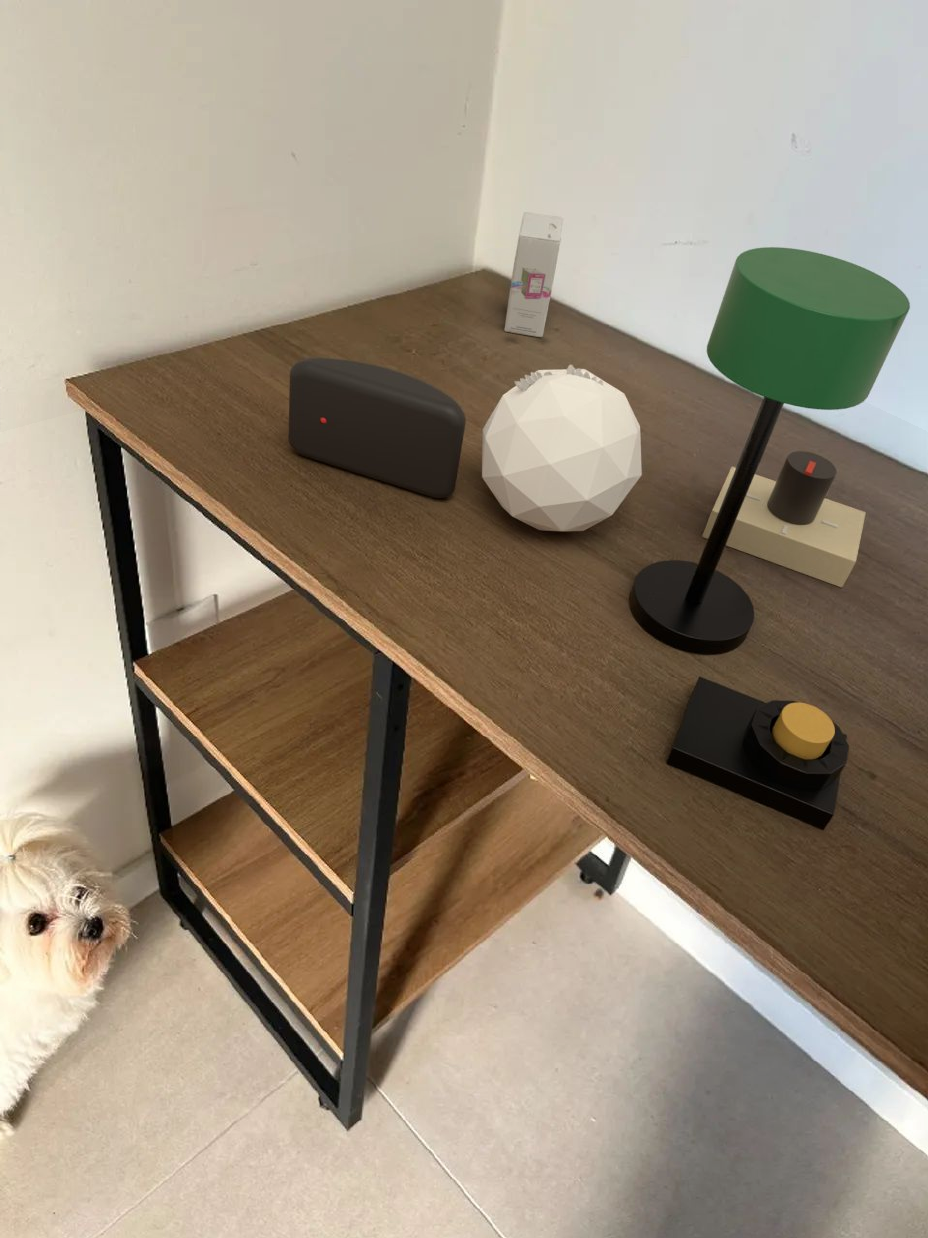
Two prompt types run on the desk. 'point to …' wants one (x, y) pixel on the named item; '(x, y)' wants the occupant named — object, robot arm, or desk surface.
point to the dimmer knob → (801, 487)
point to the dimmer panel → (794, 534)
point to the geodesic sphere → (561, 450)
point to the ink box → (533, 274)
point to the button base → (755, 754)
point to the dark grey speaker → (376, 424)
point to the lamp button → (803, 730)
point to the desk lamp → (771, 410)
